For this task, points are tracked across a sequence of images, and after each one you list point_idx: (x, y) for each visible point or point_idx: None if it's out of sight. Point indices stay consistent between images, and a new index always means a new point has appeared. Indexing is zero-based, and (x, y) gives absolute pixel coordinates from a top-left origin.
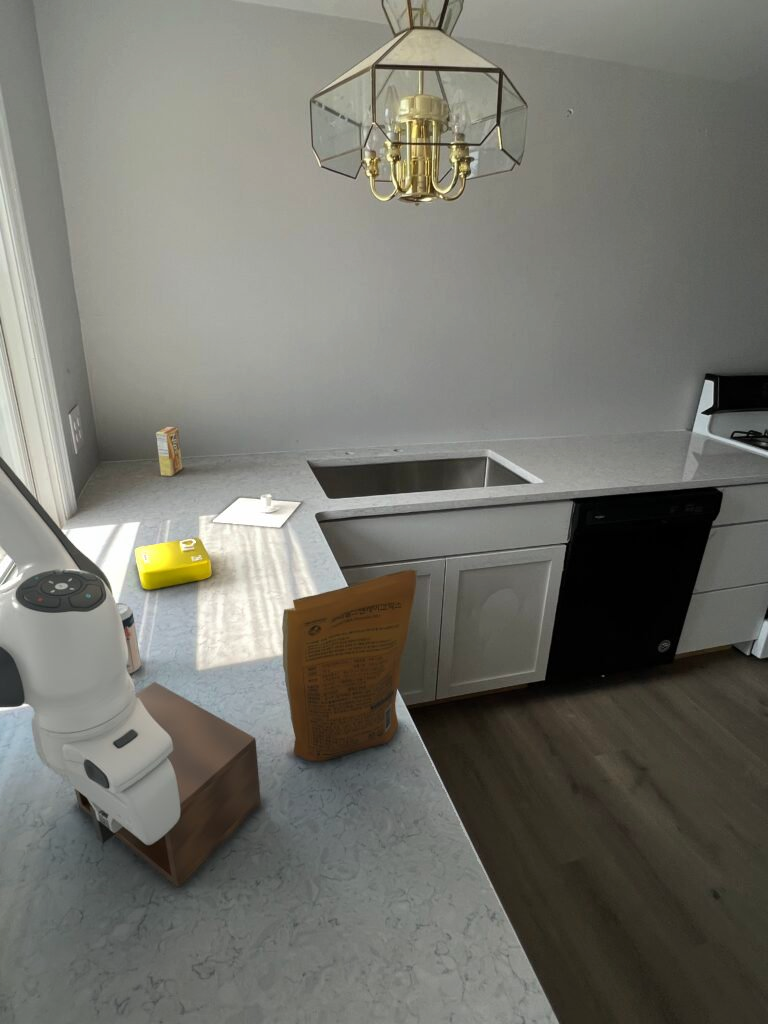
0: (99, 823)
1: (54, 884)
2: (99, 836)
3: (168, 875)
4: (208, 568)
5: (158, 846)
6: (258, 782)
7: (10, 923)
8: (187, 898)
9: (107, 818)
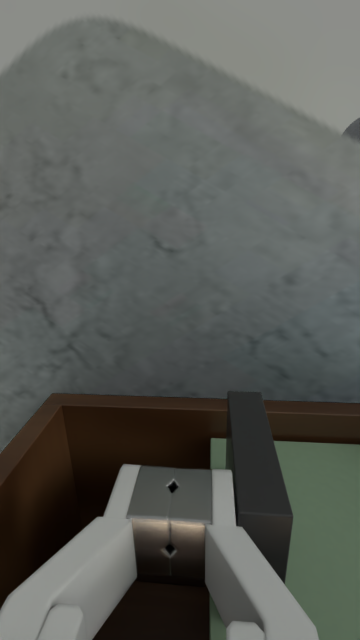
0: (232, 453)
1: (299, 251)
2: (243, 404)
3: (73, 403)
4: None
5: (149, 435)
6: None
7: (306, 121)
8: (20, 387)
9: (115, 534)
